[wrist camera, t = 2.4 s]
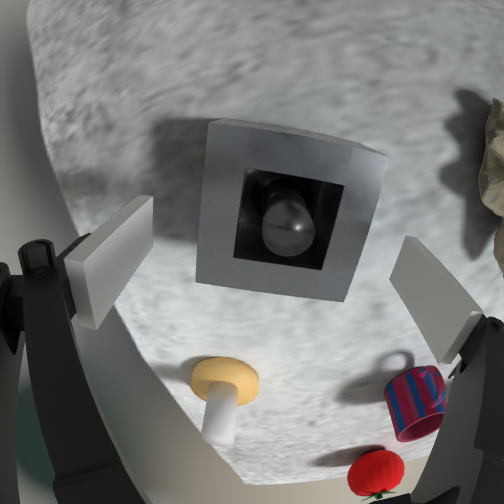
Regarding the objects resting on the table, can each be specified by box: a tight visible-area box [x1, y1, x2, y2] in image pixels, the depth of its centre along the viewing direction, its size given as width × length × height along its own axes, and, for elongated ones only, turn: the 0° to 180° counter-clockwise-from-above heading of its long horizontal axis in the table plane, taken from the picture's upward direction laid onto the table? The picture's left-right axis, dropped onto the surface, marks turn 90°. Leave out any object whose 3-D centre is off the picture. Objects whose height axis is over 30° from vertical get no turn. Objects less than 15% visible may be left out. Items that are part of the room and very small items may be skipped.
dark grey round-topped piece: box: [252, 171, 315, 256], centre depth 17 cm, size 4×4×6 cm
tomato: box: [347, 450, 404, 501], centre depth 36 cm, size 10×10×10 cm
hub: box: [190, 357, 259, 446], centre depth 25 cm, size 7×7×8 cm
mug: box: [384, 366, 447, 442], centre depth 25 cm, size 7×10×7 cm
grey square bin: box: [196, 119, 389, 302], centre depth 17 cm, size 9×9×5 cm
